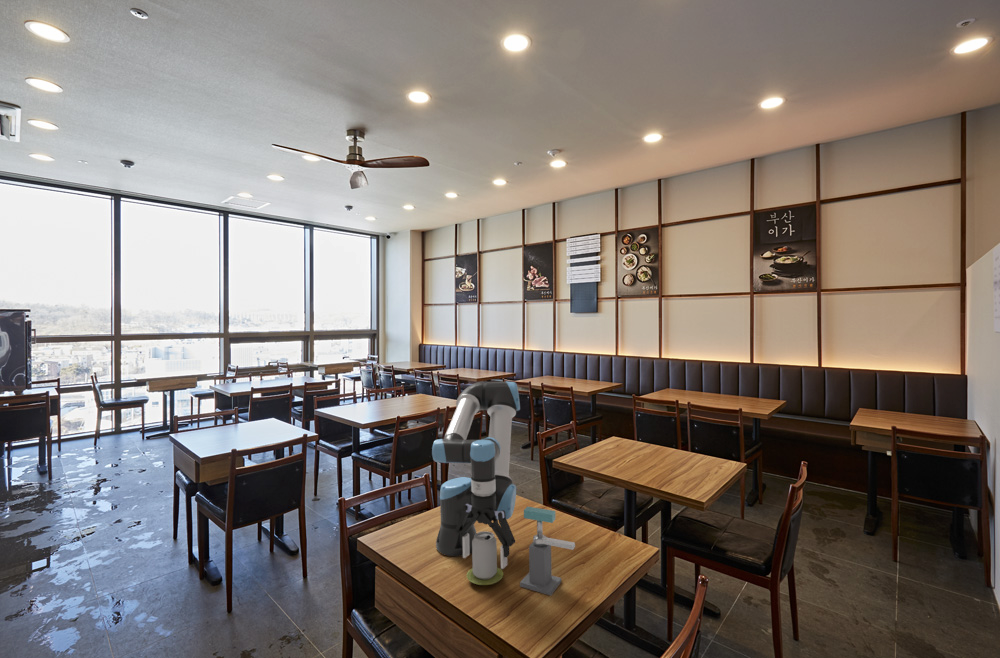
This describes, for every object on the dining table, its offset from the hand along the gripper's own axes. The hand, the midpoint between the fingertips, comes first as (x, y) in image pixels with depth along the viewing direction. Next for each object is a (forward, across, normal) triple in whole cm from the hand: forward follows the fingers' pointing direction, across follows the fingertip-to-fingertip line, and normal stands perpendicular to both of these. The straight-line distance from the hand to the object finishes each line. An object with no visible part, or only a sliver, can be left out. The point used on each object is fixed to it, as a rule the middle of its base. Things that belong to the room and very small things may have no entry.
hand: (484, 561), depth 138 cm
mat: (+6, 0, 0) cm, 6 cm away
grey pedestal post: (+6, +16, +6) cm, 18 cm away
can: (+4, 0, 0) cm, 4 cm away
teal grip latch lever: (-7, +19, +6) cm, 21 cm away
